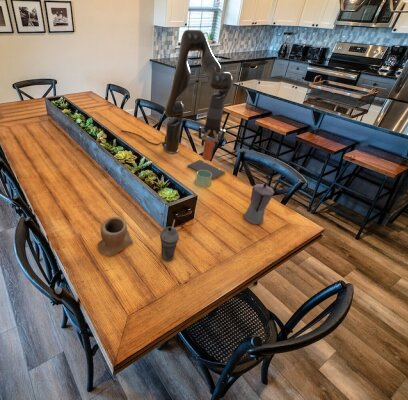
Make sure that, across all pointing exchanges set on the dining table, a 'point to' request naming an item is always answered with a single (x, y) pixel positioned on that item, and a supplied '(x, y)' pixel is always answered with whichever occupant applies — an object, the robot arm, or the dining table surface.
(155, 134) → the dining table surface
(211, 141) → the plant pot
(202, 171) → the cup
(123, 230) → the stone cup
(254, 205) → the moka pot
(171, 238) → the beverage cup
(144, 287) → the dining table surface
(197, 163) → the slate board
